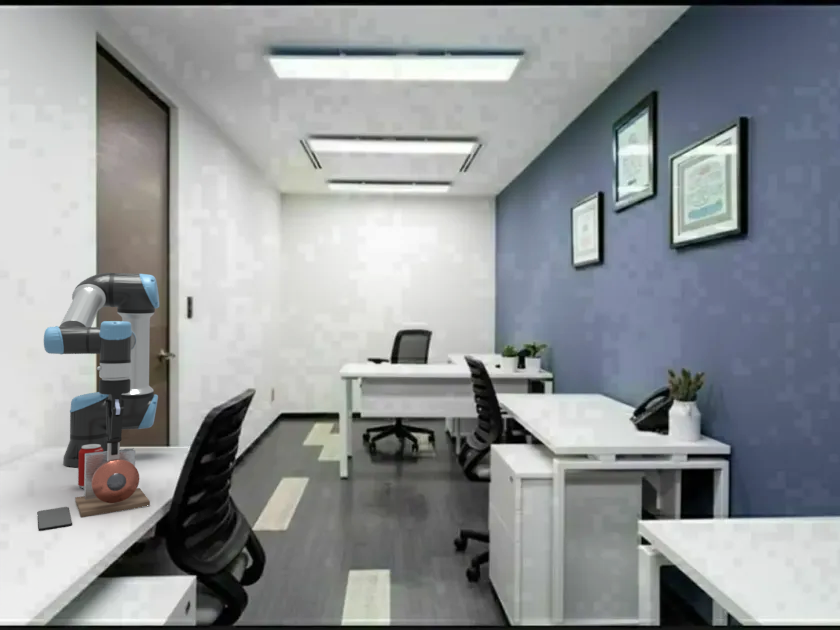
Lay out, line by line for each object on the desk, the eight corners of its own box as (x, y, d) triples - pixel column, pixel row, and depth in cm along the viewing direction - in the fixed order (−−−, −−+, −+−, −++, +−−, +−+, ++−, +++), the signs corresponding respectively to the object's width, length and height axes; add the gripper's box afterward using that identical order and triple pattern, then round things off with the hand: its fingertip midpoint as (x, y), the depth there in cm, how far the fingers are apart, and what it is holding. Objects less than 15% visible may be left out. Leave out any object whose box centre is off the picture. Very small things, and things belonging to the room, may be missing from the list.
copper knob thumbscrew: (85, 490, 160) (85, 451, 160) (128, 484, 166) (129, 446, 166) (92, 507, 147) (93, 464, 147) (139, 499, 153) (140, 458, 153)
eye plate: (83, 501, 157) (84, 453, 157) (132, 493, 164) (133, 448, 164) (85, 504, 155) (86, 455, 155) (134, 496, 162) (135, 450, 162)
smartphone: (68, 506, 152) (72, 523, 140) (68, 509, 152) (72, 527, 140) (37, 510, 148) (38, 528, 136) (36, 514, 148) (38, 532, 136)
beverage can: (91, 490, 166) (92, 449, 166) (72, 488, 168) (73, 447, 168) (107, 484, 173) (108, 444, 172) (89, 482, 174) (90, 442, 174)
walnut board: (75, 501, 157) (75, 497, 157) (139, 492, 166) (139, 487, 166) (80, 517, 145) (81, 512, 145) (149, 506, 155) (149, 501, 155)
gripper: (95, 376, 158) (94, 462, 158) (102, 381, 148) (100, 473, 148) (126, 375, 163) (124, 459, 163) (134, 380, 152) (132, 469, 152)
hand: (113, 466), depth 155 cm, fingers closed
